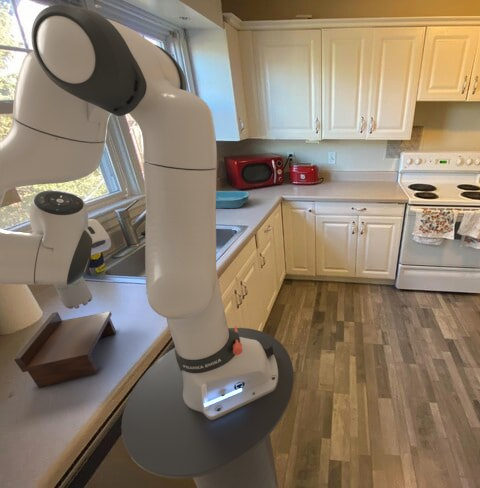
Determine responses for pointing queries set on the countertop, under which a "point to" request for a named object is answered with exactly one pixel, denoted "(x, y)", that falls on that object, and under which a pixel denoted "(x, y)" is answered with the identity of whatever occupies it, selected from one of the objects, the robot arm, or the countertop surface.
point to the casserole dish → (231, 199)
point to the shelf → (64, 348)
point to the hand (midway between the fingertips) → (61, 267)
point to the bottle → (74, 293)
